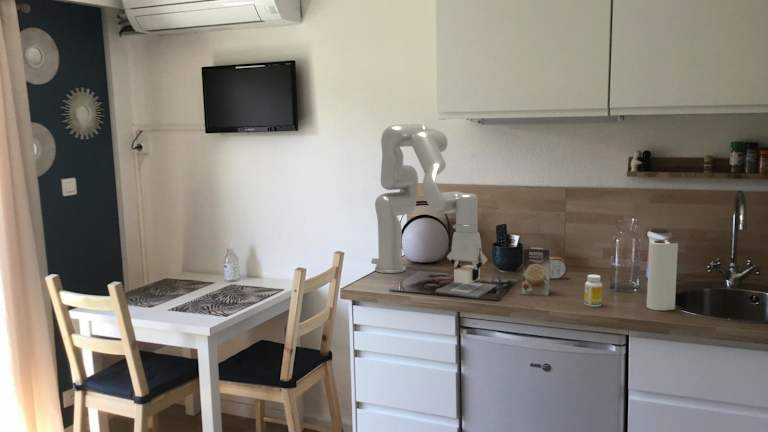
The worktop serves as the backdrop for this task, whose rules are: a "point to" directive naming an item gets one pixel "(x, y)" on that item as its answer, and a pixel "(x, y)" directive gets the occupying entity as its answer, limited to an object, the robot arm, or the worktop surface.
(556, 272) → the tin
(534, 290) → the coffee box
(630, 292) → the worktop surface
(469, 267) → the card box
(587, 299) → the supplement bottle
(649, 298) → the paper towel roll
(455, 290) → the mat
